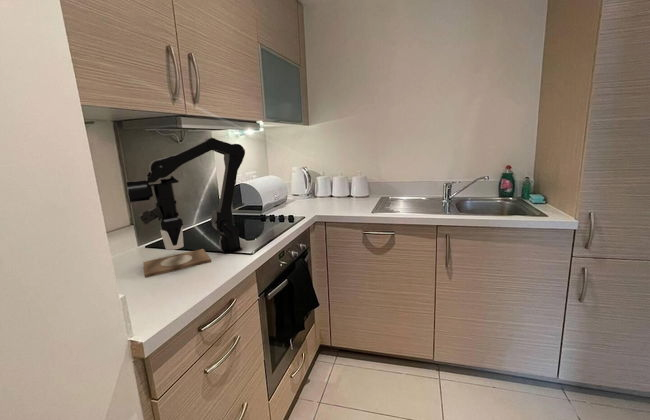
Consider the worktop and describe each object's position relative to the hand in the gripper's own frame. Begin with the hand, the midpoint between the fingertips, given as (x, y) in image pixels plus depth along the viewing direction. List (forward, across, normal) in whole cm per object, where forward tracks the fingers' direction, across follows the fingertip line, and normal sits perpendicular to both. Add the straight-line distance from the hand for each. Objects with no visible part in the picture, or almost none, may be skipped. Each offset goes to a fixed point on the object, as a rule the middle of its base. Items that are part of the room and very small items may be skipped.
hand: (173, 243), depth 110 cm
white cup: (+2, 0, 0) cm, 2 cm away
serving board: (+7, 0, 0) cm, 7 cm away
